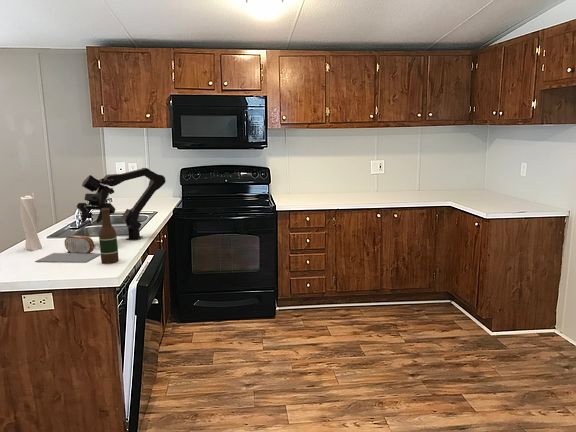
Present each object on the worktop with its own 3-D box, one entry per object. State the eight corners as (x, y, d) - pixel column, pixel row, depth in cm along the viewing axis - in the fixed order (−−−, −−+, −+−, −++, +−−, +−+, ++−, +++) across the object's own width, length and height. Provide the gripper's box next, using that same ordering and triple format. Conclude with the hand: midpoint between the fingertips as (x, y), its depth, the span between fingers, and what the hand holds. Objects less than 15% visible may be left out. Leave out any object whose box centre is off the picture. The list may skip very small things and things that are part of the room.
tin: (95, 253, 224) (94, 235, 223) (91, 254, 222) (89, 237, 220) (69, 251, 228) (67, 234, 227) (64, 253, 225) (62, 235, 224)
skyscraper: (46, 247, 237) (39, 192, 232) (33, 251, 230) (26, 194, 225) (34, 246, 239) (27, 191, 234) (21, 249, 233) (14, 193, 227)
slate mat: (53, 253, 224) (53, 252, 224) (101, 254, 222) (101, 253, 222) (35, 262, 210) (35, 261, 210) (86, 262, 208) (86, 261, 208)
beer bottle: (97, 261, 209) (92, 208, 205) (114, 258, 214) (110, 206, 210) (105, 265, 204) (100, 210, 199) (122, 261, 209) (117, 208, 204)
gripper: (76, 186, 234) (63, 212, 226) (109, 186, 230) (97, 213, 221) (88, 199, 243) (77, 225, 235) (120, 200, 239) (109, 226, 230)
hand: (89, 222), depth 230 cm, fingers open, 8 cm apart
